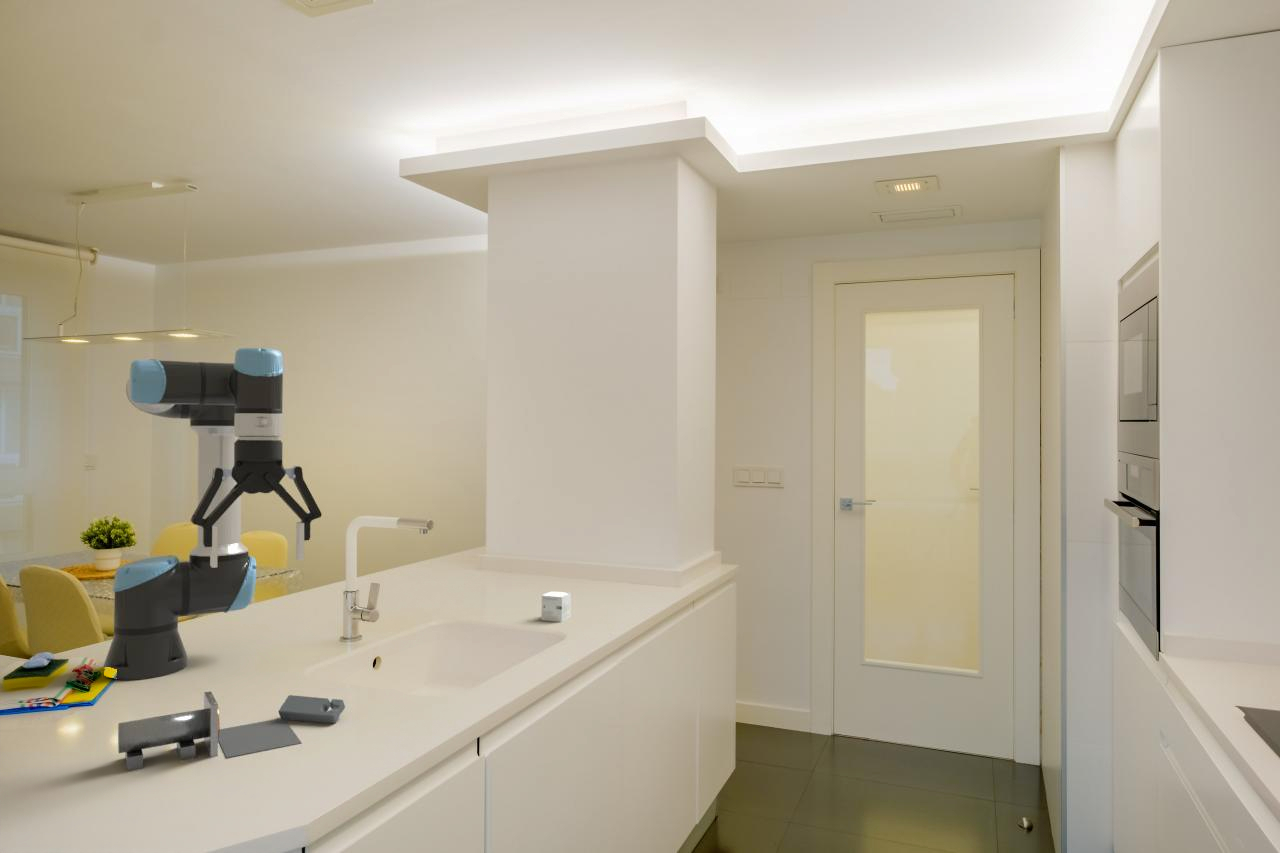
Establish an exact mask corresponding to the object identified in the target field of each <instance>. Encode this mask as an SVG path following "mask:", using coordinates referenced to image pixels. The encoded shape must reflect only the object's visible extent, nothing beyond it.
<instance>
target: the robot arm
mask: <svg viewBox="0 0 1280 853" xmlns="http://www.w3.org/2000/svg"><path fill="white" fill-rule="evenodd" d="M281 352H282V351H280V350H278V349H273V348H264V347H263V348H262V347H261V348H260V347H242V348H241V347H240V348H239V349H237V350H235V355H234V362H233V363H229V362H206V361H205V362H204V361H203V362H202V361H201V362H200V361H199V362H198V361H197V362H196V361H181V360H180V361H179V360H158V359H155V358H153V359H135V360H133V361H132V362H131V364H130V367H129V368H130V369H129V370H130V371H129V379H128V380H127V383H126V386H125V387H126V390H125V391H126V392H125V393H126V397H127V399H128V400H129V403H131V405H132V406H134V407H135V408H136V409H138V410H139V411H142V412H144V413H145V414H149V415H152V416H153V415H154V416H157V417H162V418H167V419H186V420H187V419H188V420H189V422H190V424H189V428H190V429H191V430H193V431H194V433H196V435H197V507H196V509H195V511H194V512H193V514H192V516H191V518H190V522H191V523H192V524H193V525H194V526H197V544H196V546H195V547H194V548H192V549H191V550H190V551H189V556H188V557H189V559H188V560H187V561H180V559H179V558H178V555H172V554H171V555H170V554H169V555H160V556H159V555H158V556H152V557H146V558H143V559H139V560H134V561H130V562H127V563H124V564H123V565H121V566H120V567H118V568H117V569H116V570H115V573H114V580H113V581H114V584H113V585H114V586H113V588H112V592H114V596H113V597H114V604H113V606H114V607H113V610H114V611H113V637H112V638H113V639H112V642H111V643H110V647H109V650H108V652H107V654H106V657H105V661H104V663H103V668H104V667H111V668H114V669H117V676H116V678H117V679H121V680H120V681H132V680H134V681H135V680H136V679H137V680H145V679H146V680H147V679H153V678H157V677H158V676H159V677H162V676H167V675H170V673H171V674H174V673H177V672H179V670H180V671H182V670H184V669H186V668H187V666H188V654H187V651H186V649H185V646H184V643H183V641H182V640H183V639H182V637H181V635H180V632H179V625H178V624H179V623H178V622H179V617H181V618H182V617H190V616H197V615H198V616H199V615H206V614H216V613H217V614H218V613H225V614H227V613H229V612H233V611H239V610H244V609H246V608H247V607H248V606H249V605H250V603H251V602H252V599H253V597H254V592H255V588H256V582H257V560H256V558H255V557H254V556H252V555H249V548H248V547H247V546H245V545H244V544H243V543H242V495H243V493H246V494H248V495H249V494H250V495H251V494H253V495H255V494H258V493H261V494H270V493H272V492H273V491H274V493H275V494H276V495H278V497H279V498H280V499H281V500H282V501H283V502H284V503H285V504H286V505H287V506H288V507H289V508H290V510H291V511H292V512H293V513H294V514H295V515H296V516H297V517H298V518H299V519H300V521H296V523H295V524H296V525H295V528H296V531H295V536H296V537H295V538H296V540H295V555H296V556H295V558H296V560H297V561H300V562H301V561H302V562H303V561H305V542H306V541H310V538H311V524H312V523H311V522H312V521H314V520H317V519H320V518H321V517H322V516H323V514H322V512H321V510H320V507H319V506H318V504H317V502H316V501H315V499H314V496H313V494H312V493H311V491H310V489H309V487H308V485H307V483H306V481H305V479H304V476H303V475H304V474H303V468H302V466H300V465H293V466H292V467H286V468H285V467H284V465H283V441H282V440H281V439H279V438H281V437H282V436H283V385H284V383H283V382H284V380H283V379H284V376H283V375H284V372H285V368H284V366H283V364H284V363H283V354H282V353H281ZM286 475H287V476H288V478H289V479H290V480H293V483H294V485H295V487H296V488H297V490H298V492H299V494H300V496H301V498H302V500H303V501H304V504H305V505H306V507H307V509H308V511H309V512H307V511H305V509H304V508H303V507H302V506H301V505H300V504H299V503H298V502H297V501H296V500H295V499H294V498H293V496H292V495H291V494H290V493H289V492H288V491H287V490H286V488H285V487H284V486H283V485H282V484H281V481H282V480H283V478H284V477H285V476H286ZM181 669H182V670H181ZM159 677H158V678H159Z"/></svg>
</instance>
